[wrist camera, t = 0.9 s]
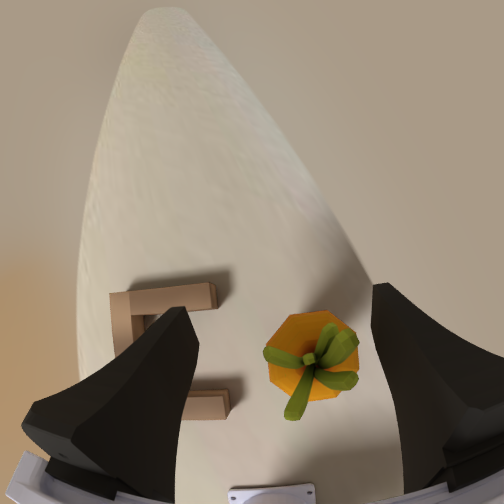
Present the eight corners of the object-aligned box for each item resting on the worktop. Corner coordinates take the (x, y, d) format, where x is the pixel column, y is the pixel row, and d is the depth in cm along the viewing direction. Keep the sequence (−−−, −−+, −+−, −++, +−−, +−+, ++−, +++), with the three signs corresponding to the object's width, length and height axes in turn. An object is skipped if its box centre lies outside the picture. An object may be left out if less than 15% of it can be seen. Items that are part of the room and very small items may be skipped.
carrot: (287, 380, 24) (296, 461, 9) (259, 329, 25) (230, 349, 10) (340, 350, 24) (414, 392, 9) (312, 300, 25) (356, 278, 10)
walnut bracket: (231, 410, 23) (225, 419, 21) (137, 410, 24) (125, 417, 22) (215, 285, 26) (208, 282, 23) (122, 295, 26) (109, 293, 24)
